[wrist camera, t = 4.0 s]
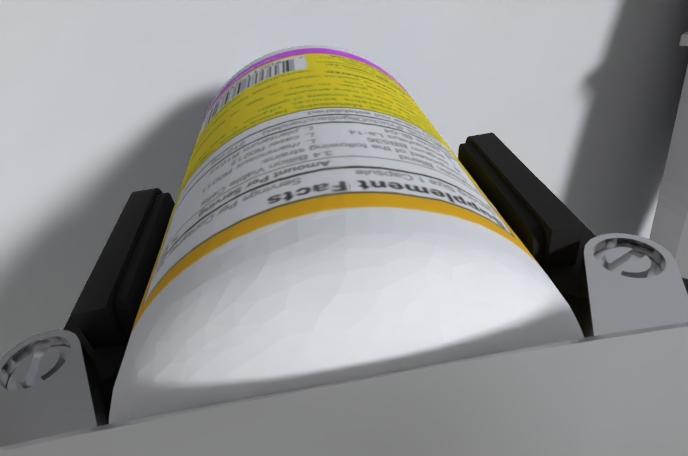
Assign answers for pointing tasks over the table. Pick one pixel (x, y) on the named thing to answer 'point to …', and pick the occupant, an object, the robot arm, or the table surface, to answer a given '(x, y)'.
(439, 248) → the supplement bottle
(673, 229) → the light grey long piece
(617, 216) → the table surface
